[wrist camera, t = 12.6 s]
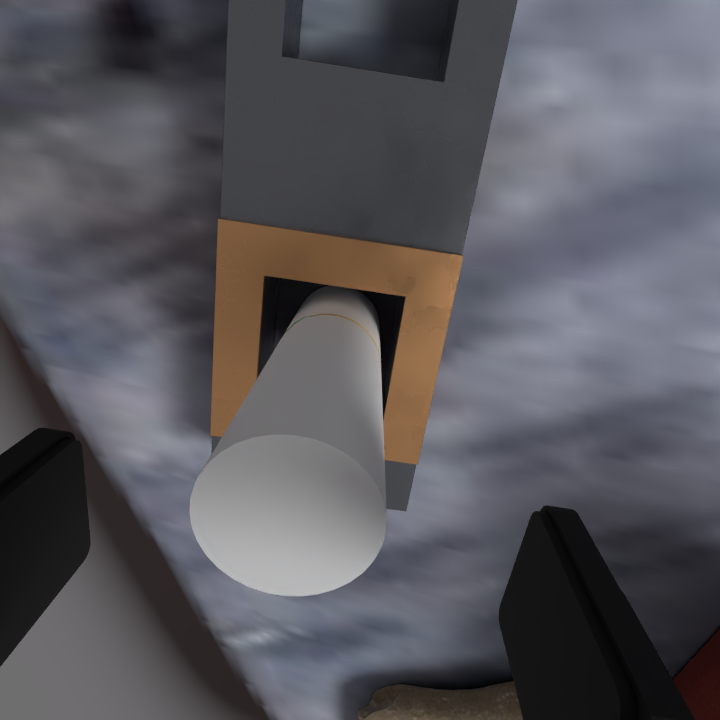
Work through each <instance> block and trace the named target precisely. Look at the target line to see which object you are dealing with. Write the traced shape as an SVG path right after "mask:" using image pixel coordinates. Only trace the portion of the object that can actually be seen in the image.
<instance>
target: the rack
mask: <svg viewBox="0 0 720 720" xmlns="http://www.w3.org/2000/svg"><path fill="white" fill-rule="evenodd" d="M516 5H517V0H450V5H449V11H448V16H447V22H446V28H445V33H444V39H443V45H442V50H441V56H440V62H439V67H438V73H437V79H436V81H432V80H426V79H420V78H413V77H407V76H401V75H395V74H388V73H382V72H376V71H370V70H363V69H357V68H351V67H345V66H338V65H332V64H326V63H320V62H313V61H307V60H301V59H298V53H299V41H300V29H301V17H302V6H303V0H229V1H228V27H227V54H226V81H225V107H224V134H223V161H222V187H221V214H220V219H218V234H217V262H216V290H215V317H214V345H213V373H212V401H211V429H210V435H211V436H212V453H213V451H214V450H215V448H216V446H217V445H218V443H219V441H220V440H221V438H222V436H223V435H224V433H225V431H226V430H227V428H228V426H229V425H230V423H231V421H232V420H233V418H234V416H235V415H236V413H237V411H238V410H239V408H240V406H241V405H242V403H243V401H244V400H245V398H246V396H247V395H248V393H249V391H250V390H251V388H252V386H253V385H254V383H255V381H256V380H257V378H258V376H259V375H260V373H261V371H262V370H263V368H264V366H265V365H266V363H267V362H268V360H269V358H270V357H271V355H272V353H273V351H274V339H275V327H276V315H277V303H278V291H279V279H280V278H284V279H291V280H298V281H304V282H311V283H318V284H325V285H331V286H338V287H345V288H351V289H358V290H365V291H372V292H378V293H385V294H392V295H398V300H397V306H396V312H395V317H394V323H393V329H392V334H391V340H390V346H389V351H388V357H387V363H386V368H385V374H384V380H383V385H382V406H383V433H384V460H385V487H386V509H394V510H401V511H406V509H407V505H408V500H409V496H410V491H411V486H412V482H413V477H414V473H415V468H416V464H417V465H418V460H419V456H420V451H421V447H422V442H423V437H424V433H425V428H426V424H427V419H428V415H429V410H430V405H431V401H432V396H433V392H434V387H435V383H436V378H437V374H438V369H439V364H440V360H441V355H442V351H443V346H444V342H445V337H446V332H447V328H448V323H449V319H450V314H451V310H452V305H453V301H454V296H455V291H456V287H457V282H458V278H459V273H460V269H461V264H462V259H463V255H462V253H463V248H464V243H465V239H466V234H467V230H468V225H469V220H470V216H471V211H472V207H473V202H474V198H475V193H476V188H477V184H478V179H479V175H480V170H481V165H482V161H483V156H484V152H485V147H486V143H487V138H488V133H489V129H490V124H491V120H492V115H493V110H494V106H495V101H496V97H497V92H498V88H499V83H500V78H501V74H502V69H503V65H504V60H505V55H506V51H507V46H508V42H509V37H510V32H511V28H512V23H513V19H514V14H515V10H516ZM211 455H212V454H211Z"/></svg>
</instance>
